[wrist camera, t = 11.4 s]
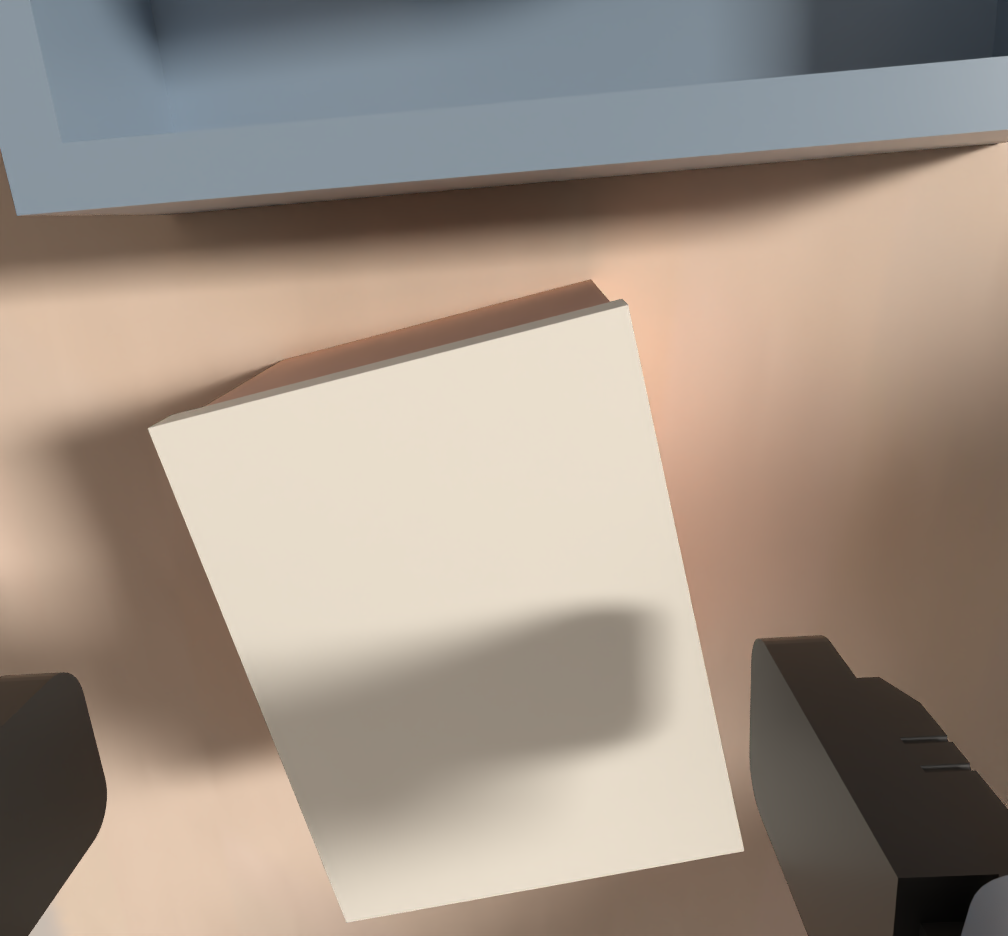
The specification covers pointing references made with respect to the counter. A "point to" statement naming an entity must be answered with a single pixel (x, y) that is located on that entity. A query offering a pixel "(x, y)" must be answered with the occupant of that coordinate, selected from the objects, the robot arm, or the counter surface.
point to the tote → (468, 93)
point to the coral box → (463, 603)
